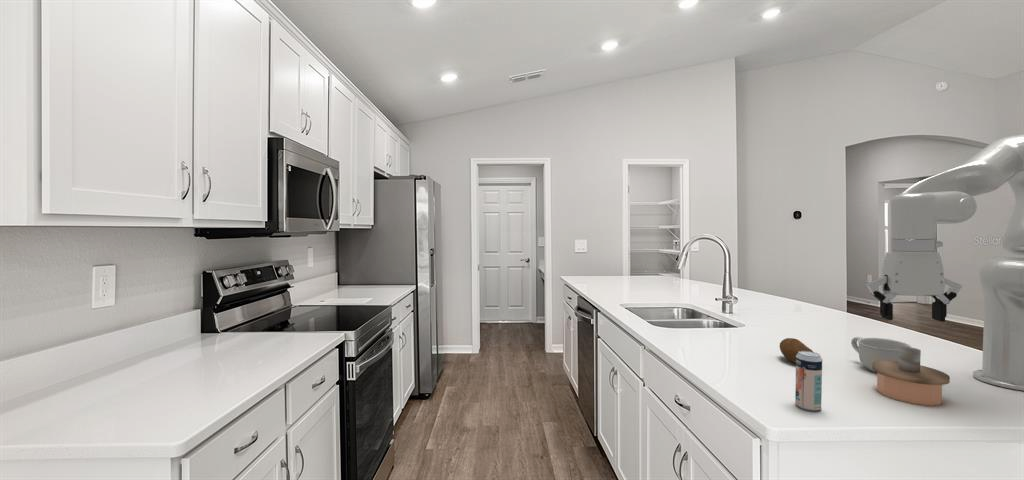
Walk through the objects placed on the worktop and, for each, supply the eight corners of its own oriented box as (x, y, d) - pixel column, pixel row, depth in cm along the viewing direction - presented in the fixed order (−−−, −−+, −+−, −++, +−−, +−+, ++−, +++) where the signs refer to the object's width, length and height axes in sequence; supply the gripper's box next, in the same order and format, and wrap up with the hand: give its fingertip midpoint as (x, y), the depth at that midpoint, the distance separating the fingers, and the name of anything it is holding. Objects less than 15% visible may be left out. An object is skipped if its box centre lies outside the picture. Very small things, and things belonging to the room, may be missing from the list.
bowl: (921, 388, 100) (922, 368, 99) (954, 407, 89) (955, 385, 89) (868, 384, 103) (868, 364, 103) (893, 401, 92) (894, 380, 92)
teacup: (922, 378, 106) (923, 348, 106) (880, 378, 106) (881, 348, 106) (876, 360, 120) (876, 334, 120) (838, 360, 120) (839, 334, 120)
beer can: (796, 400, 93) (796, 348, 93) (822, 406, 90) (823, 353, 90) (793, 408, 90) (794, 354, 89) (821, 414, 87) (822, 358, 86)
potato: (800, 370, 113) (801, 345, 113) (769, 357, 124) (769, 334, 124) (822, 368, 114) (823, 344, 114) (789, 355, 125) (789, 333, 125)
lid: (924, 367, 100) (925, 343, 100) (966, 387, 88) (966, 360, 88) (861, 362, 104) (861, 339, 104) (891, 381, 91) (892, 354, 91)
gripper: (948, 245, 96) (947, 317, 97) (859, 246, 101) (859, 314, 102) (973, 247, 89) (972, 325, 89) (876, 248, 94) (876, 322, 94)
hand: (912, 319), depth 96 cm, fingers open, 9 cm apart
